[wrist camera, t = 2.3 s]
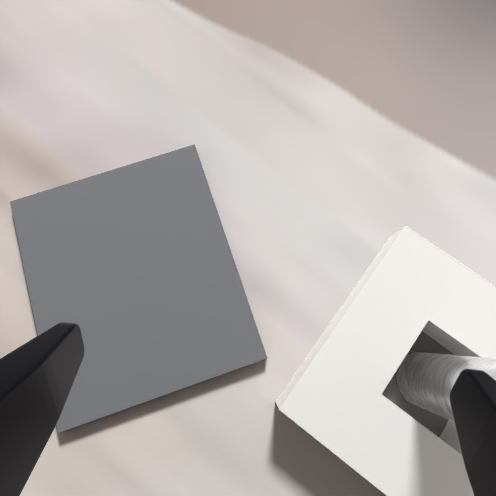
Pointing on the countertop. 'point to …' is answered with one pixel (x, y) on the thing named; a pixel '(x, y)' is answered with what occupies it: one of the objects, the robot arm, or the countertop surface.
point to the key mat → (136, 282)
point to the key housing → (393, 367)
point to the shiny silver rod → (436, 378)
